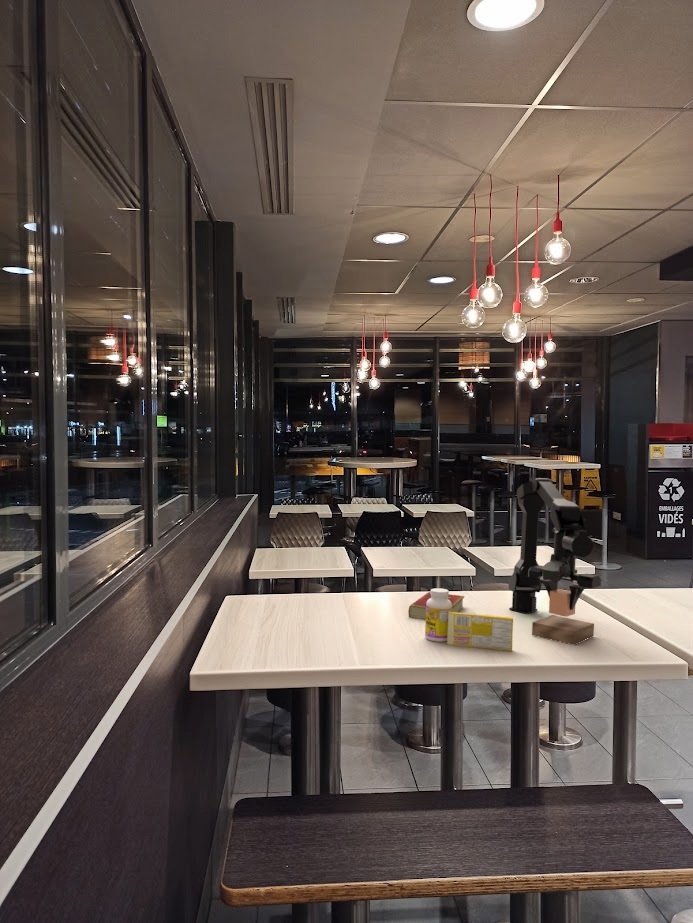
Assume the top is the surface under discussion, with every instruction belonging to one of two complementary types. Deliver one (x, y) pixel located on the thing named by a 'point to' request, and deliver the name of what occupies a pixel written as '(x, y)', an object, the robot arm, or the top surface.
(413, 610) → the hardcover book
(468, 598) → the top surface
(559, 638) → the walnut block
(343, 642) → the top surface
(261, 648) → the top surface
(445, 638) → the supplement bottle
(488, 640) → the candy box
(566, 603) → the pink clay cube
